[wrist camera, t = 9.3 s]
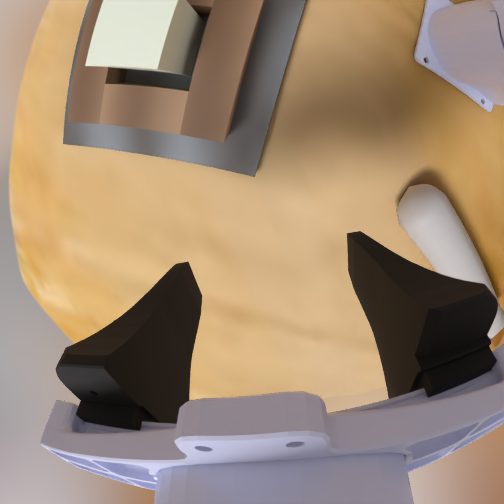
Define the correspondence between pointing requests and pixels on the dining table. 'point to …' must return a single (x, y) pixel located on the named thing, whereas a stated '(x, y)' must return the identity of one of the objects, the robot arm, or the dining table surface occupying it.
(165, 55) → the peg
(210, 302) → the dining table surface
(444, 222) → the tube
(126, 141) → the socket
